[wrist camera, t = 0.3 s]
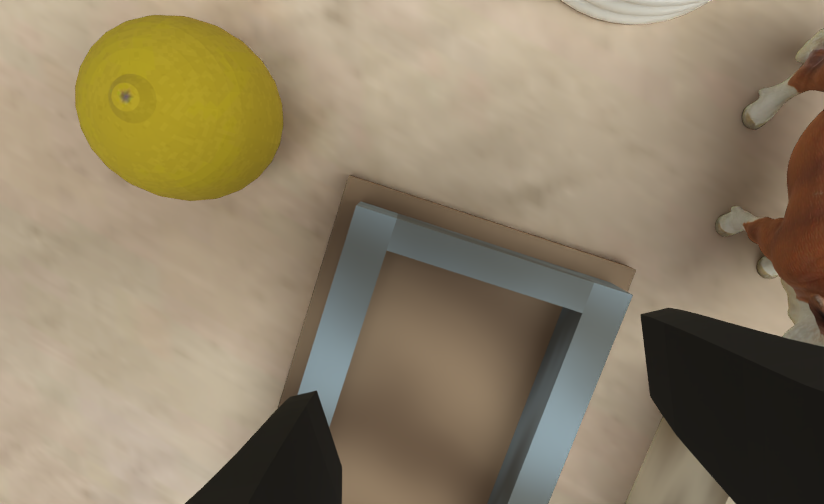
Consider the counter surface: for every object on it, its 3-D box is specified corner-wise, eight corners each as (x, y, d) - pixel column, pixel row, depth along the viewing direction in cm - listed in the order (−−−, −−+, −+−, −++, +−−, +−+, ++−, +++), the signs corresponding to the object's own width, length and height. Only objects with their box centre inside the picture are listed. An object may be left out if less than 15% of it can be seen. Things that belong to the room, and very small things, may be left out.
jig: (462, 678, 25) (469, 742, 22) (217, 611, 24) (192, 669, 21) (627, 266, 22) (660, 281, 19) (350, 175, 21) (342, 176, 18)
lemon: (273, 215, 21) (193, 244, 13) (143, 159, 21) (-20, 155, 13) (324, 85, 20) (272, 34, 12) (190, 25, 20) (47, -68, 12)
